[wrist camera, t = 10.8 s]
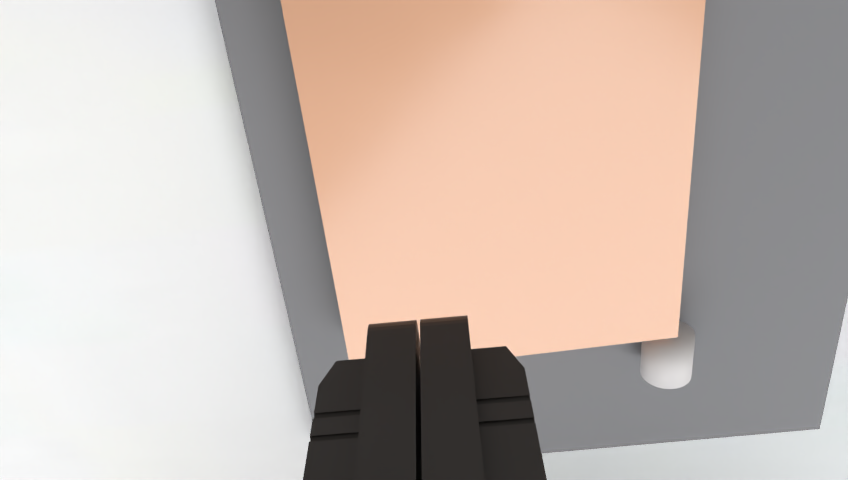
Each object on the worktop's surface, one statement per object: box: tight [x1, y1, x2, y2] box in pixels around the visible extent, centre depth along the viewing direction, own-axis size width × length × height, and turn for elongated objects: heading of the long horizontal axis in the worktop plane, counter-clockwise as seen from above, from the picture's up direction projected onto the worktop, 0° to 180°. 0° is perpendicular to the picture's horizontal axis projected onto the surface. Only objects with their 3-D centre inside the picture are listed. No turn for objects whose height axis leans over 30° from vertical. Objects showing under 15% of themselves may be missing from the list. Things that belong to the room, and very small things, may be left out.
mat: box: [215, 0, 848, 453], centre depth 21 cm, size 26×18×3 cm
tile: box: [281, 0, 706, 360], centre depth 20 cm, size 14×10×2 cm
